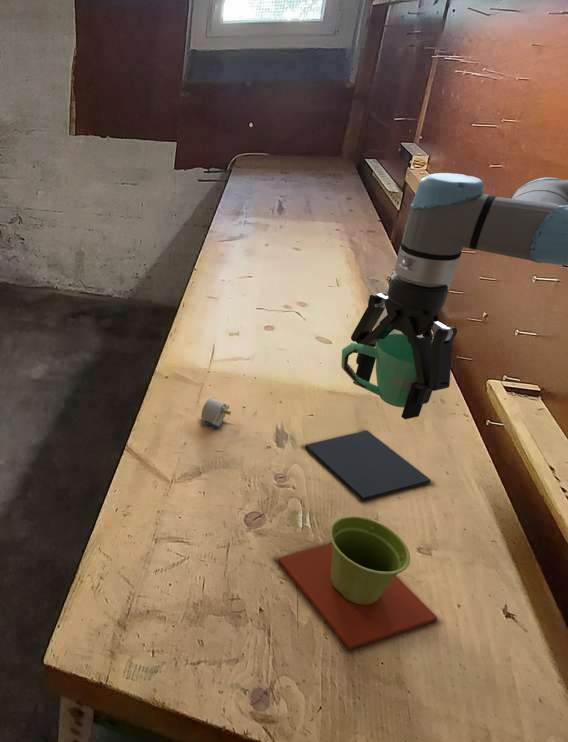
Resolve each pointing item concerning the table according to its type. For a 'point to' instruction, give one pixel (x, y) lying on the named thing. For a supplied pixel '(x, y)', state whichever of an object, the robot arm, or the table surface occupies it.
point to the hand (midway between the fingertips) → (384, 398)
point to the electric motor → (214, 412)
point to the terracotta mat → (349, 618)
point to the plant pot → (365, 558)
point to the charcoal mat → (366, 465)
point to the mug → (386, 368)
